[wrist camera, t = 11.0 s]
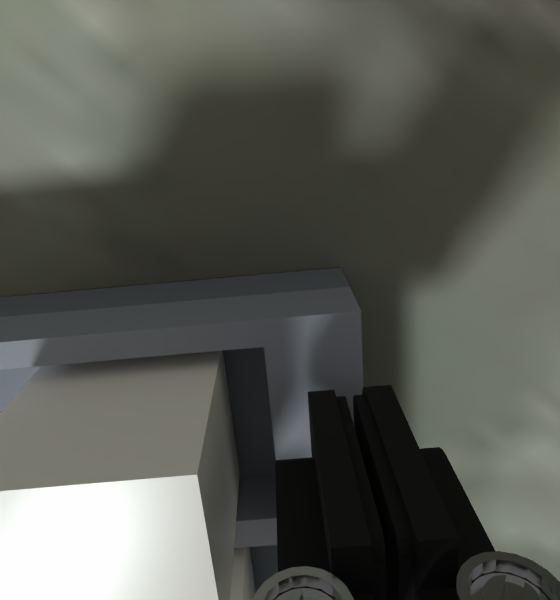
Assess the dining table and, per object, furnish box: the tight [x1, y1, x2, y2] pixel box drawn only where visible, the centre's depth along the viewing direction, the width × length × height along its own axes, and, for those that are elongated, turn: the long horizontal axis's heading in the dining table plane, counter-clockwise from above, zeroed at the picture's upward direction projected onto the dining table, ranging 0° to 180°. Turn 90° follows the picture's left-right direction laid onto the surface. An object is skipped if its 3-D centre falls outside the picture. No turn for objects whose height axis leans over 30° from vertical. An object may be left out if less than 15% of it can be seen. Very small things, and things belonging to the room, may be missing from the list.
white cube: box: [0, 351, 240, 600], centre depth 10 cm, size 4×4×4 cm
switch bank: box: [0, 268, 364, 592], centre depth 15 cm, size 20×16×3 cm
